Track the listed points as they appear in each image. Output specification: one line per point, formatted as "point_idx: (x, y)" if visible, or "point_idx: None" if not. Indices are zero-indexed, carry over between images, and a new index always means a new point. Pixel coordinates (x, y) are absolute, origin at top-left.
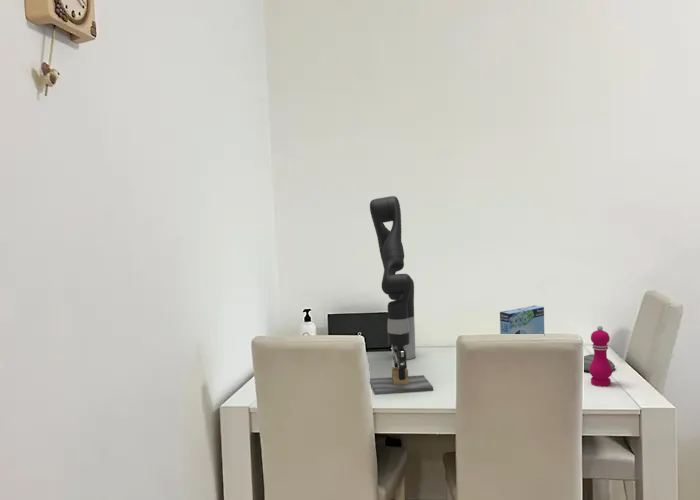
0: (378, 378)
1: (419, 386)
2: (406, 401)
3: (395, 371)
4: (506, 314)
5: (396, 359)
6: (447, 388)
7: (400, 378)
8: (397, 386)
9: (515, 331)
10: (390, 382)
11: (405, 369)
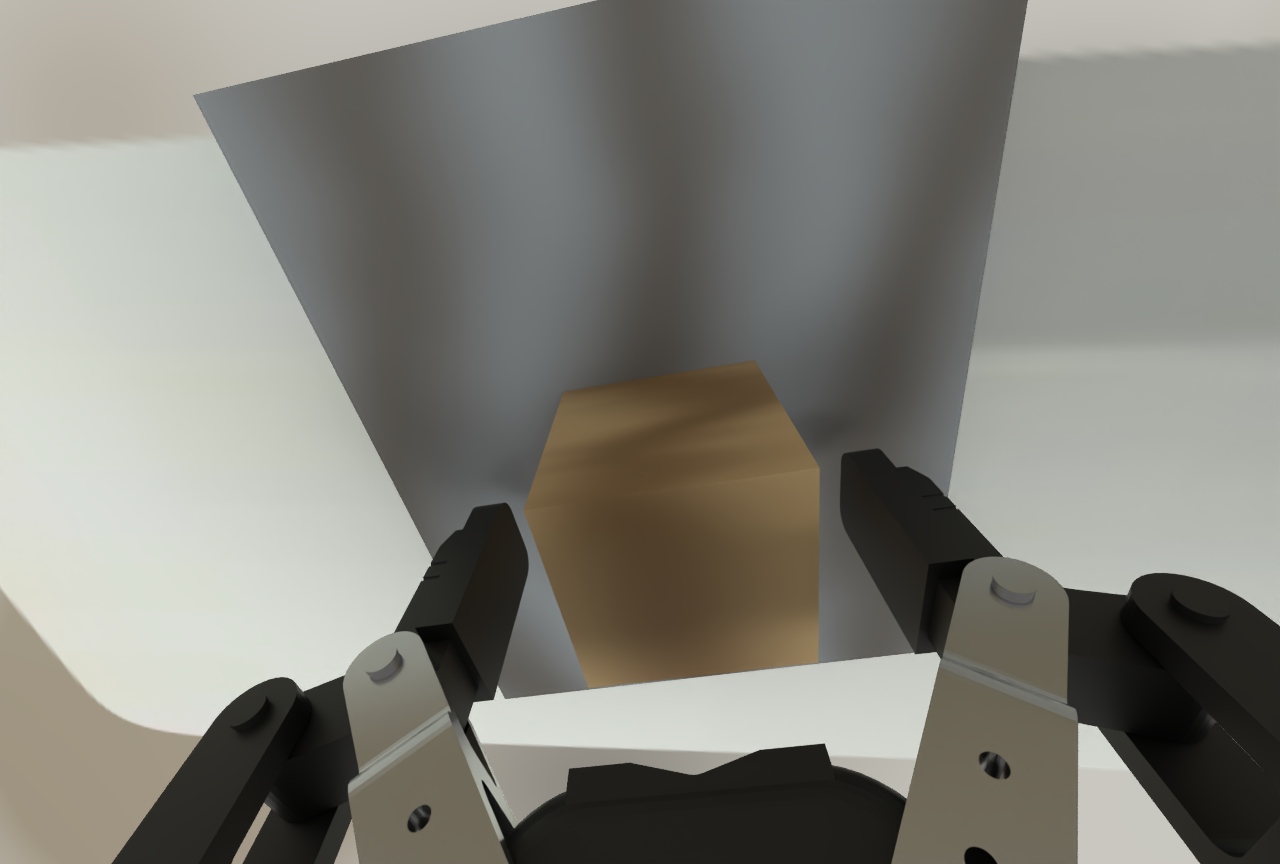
0: (980, 129)
1: (517, 619)
2: (119, 492)
3: (534, 528)
4: None
5: (358, 848)
6: (579, 737)
7: (454, 532)
8: (500, 429)
9: None
10: (696, 340)
11: (626, 662)
